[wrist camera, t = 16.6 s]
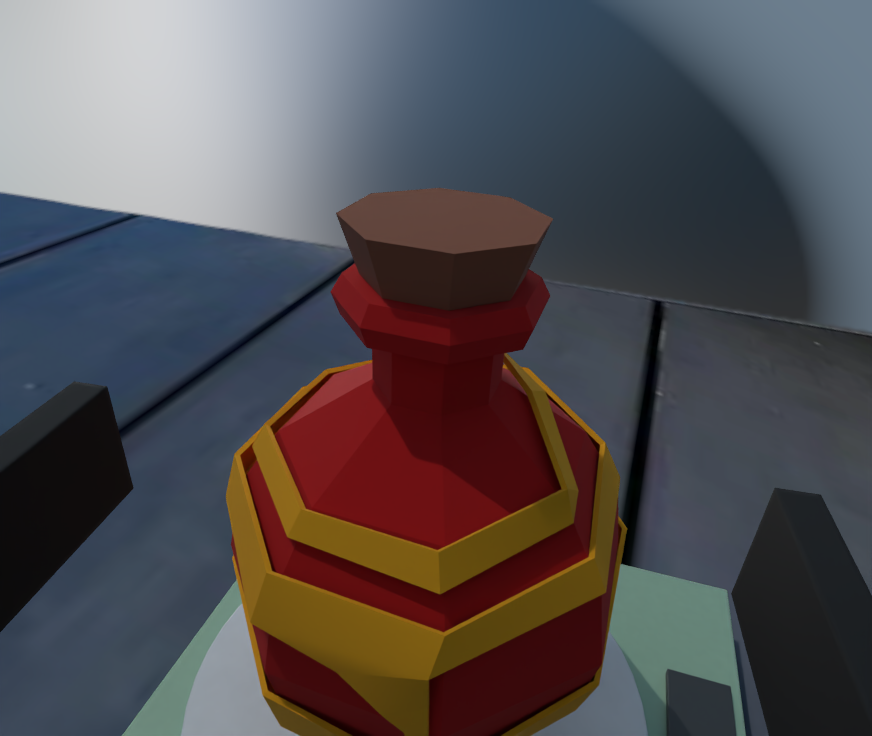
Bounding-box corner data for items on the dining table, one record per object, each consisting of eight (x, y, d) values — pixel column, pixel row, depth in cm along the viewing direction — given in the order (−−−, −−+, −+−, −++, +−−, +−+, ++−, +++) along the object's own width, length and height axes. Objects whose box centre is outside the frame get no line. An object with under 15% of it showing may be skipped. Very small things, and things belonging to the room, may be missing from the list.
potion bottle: (648, 682, 20) (808, 224, 13) (431, 1015, 13) (496, 449, 6) (411, 519, 26) (424, 140, 18) (177, 692, 19) (44, 203, 12)
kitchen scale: (710, 631, 26) (731, 578, 24) (774, 1308, 12) (832, 1287, 11) (308, 526, 30) (303, 475, 28) (26, 946, 16) (-11, 893, 15)
